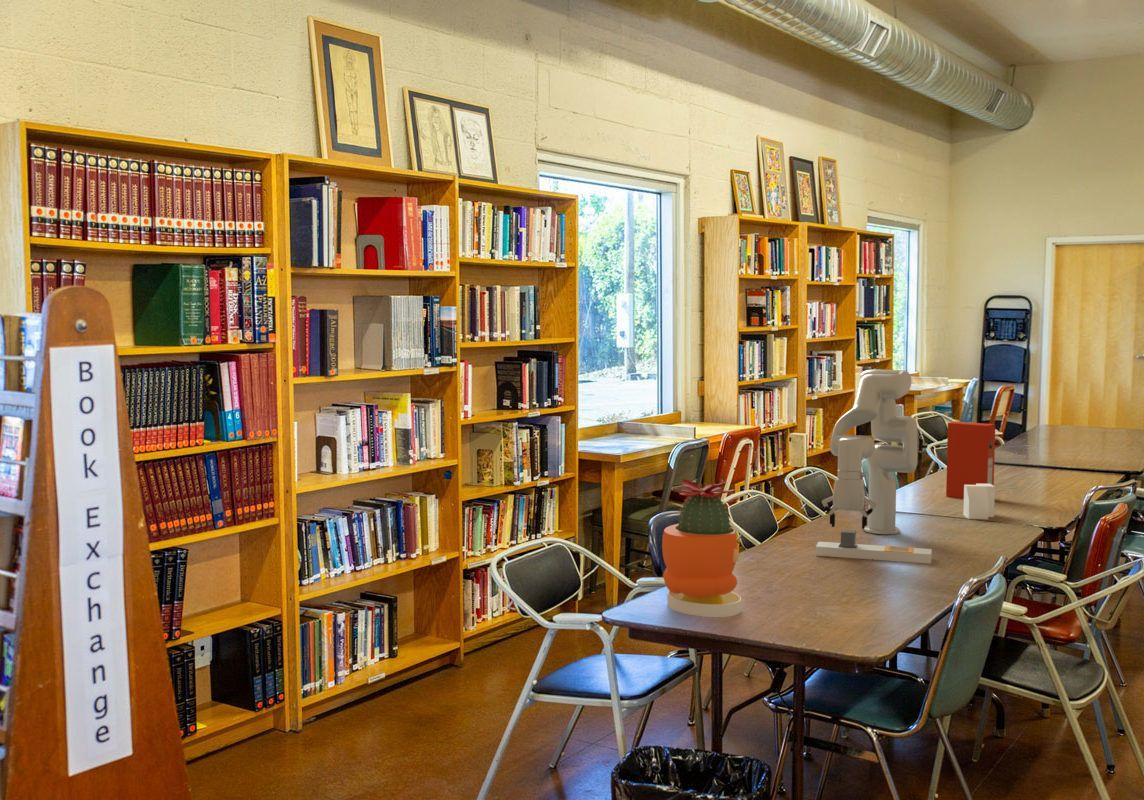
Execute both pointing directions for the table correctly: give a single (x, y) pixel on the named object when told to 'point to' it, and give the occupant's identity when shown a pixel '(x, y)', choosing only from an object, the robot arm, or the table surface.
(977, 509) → the white upright cube
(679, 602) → the potted cactus
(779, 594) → the table surface
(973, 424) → the file binder
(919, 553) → the rail
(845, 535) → the steel block
